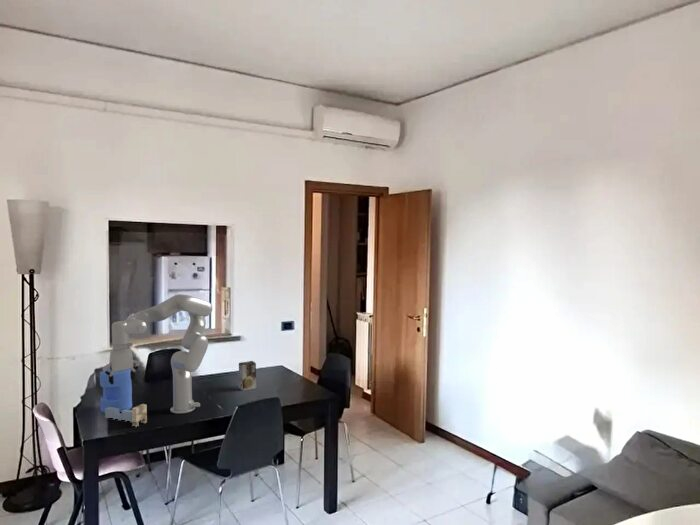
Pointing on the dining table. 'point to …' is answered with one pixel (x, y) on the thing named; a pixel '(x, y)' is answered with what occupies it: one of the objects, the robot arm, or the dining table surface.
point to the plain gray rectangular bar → (118, 414)
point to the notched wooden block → (139, 414)
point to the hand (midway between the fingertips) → (122, 381)
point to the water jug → (116, 390)
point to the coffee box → (247, 375)
